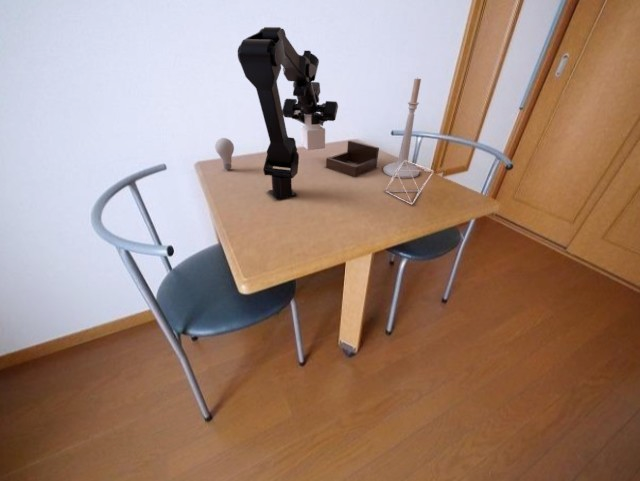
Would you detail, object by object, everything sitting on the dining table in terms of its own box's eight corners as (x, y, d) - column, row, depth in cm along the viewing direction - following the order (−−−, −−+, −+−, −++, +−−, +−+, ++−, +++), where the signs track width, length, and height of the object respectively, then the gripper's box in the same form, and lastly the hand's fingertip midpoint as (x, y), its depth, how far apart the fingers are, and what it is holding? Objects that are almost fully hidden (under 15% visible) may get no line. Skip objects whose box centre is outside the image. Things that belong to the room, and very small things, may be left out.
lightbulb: (238, 171, 101) (233, 139, 94) (220, 173, 99) (214, 141, 93) (235, 166, 105) (231, 135, 99) (218, 168, 103) (212, 136, 97)
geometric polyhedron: (380, 198, 85) (384, 168, 80) (390, 185, 93) (394, 157, 88) (422, 207, 80) (430, 177, 75) (429, 193, 89) (436, 164, 83)
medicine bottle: (318, 143, 113) (318, 110, 106) (325, 148, 108) (325, 114, 101) (301, 145, 111) (300, 111, 104) (307, 150, 105) (306, 115, 98)
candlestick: (426, 175, 102) (449, 78, 85) (397, 180, 97) (416, 79, 80) (403, 164, 111) (419, 75, 95) (376, 168, 107) (388, 75, 90)
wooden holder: (354, 177, 99) (356, 155, 95) (326, 167, 106) (326, 147, 102) (376, 167, 107) (379, 147, 103) (348, 159, 114) (349, 140, 110)
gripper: (338, 74, 91) (343, 107, 106) (283, 71, 95) (295, 103, 110) (331, 104, 89) (337, 133, 104) (275, 100, 93) (288, 129, 108)
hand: (314, 124), depth 106 cm, fingers closed on medicine bottle, 6 cm apart
